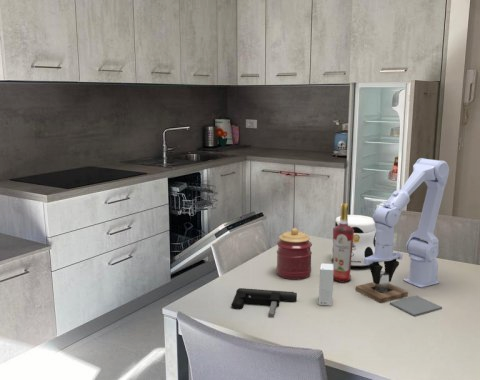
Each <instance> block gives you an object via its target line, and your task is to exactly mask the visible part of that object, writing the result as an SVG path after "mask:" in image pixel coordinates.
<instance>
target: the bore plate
mask: <svg viewBox="0 0 480 380" xmlns="http://www.w3.org/2000/svg"><path fill="white" fill-rule="evenodd" d="M355 291H356V292H358V293H361V294H362V295H364V296H366V297H368V298H370V299H372V300H374V301H376V302H378V303H379V304H383V303H386V302H392V301H394V300H395V301H396V300H400V299H402V298H403V299H404V298H408V296H409V291H407V290H405V289H402V288H400V287H398V286H396V285H394V284H392V283H391V282H389V288H388V291H384V292H381V291H378V290H376V289H375V283H374V282H373V281H371V282H367V283H363V284H359V285H355Z"/></svg>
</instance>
